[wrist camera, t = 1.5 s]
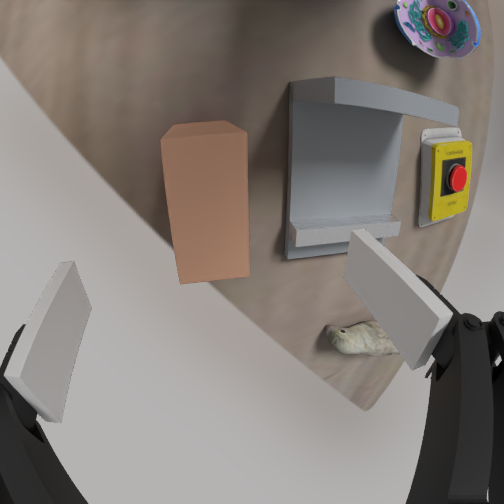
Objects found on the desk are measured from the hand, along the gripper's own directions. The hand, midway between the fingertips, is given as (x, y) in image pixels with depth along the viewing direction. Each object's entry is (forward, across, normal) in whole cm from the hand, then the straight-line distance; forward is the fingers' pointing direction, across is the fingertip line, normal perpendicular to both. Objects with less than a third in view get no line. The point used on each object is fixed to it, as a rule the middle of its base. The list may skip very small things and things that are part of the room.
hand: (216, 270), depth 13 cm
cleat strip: (+17, +16, -7) cm, 24 cm away
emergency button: (+18, +34, -1) cm, 38 cm away
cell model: (+18, +26, +20) cm, 38 cm away
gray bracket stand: (+18, +16, -1) cm, 24 cm away
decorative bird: (+18, +24, -27) cm, 41 cm away
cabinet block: (+18, 0, 0) cm, 18 cm away
